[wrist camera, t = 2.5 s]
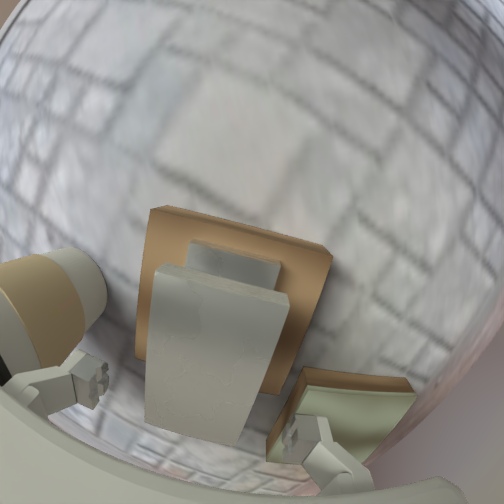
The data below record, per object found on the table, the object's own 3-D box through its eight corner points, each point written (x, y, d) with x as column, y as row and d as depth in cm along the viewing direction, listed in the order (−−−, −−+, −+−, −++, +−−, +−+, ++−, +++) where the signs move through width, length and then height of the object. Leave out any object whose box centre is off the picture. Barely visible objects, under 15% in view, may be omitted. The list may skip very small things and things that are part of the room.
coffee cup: (49, 217, 18) (-93, 264, 4) (129, 260, 19) (-26, 373, 5) (40, 302, 21) (-61, 376, 6) (110, 347, 21) (19, 464, 7)
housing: (194, 237, 15) (154, 270, 9) (279, 259, 16) (290, 306, 10) (173, 360, 18) (144, 422, 12) (242, 378, 18) (234, 446, 12)
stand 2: (303, 366, 21) (308, 390, 18) (405, 377, 21) (417, 396, 18) (266, 440, 23) (266, 461, 21) (356, 445, 24) (361, 463, 21)
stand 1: (167, 204, 18) (150, 209, 15) (322, 245, 18) (333, 256, 15) (148, 337, 21) (134, 357, 18) (276, 371, 21) (278, 395, 18)
